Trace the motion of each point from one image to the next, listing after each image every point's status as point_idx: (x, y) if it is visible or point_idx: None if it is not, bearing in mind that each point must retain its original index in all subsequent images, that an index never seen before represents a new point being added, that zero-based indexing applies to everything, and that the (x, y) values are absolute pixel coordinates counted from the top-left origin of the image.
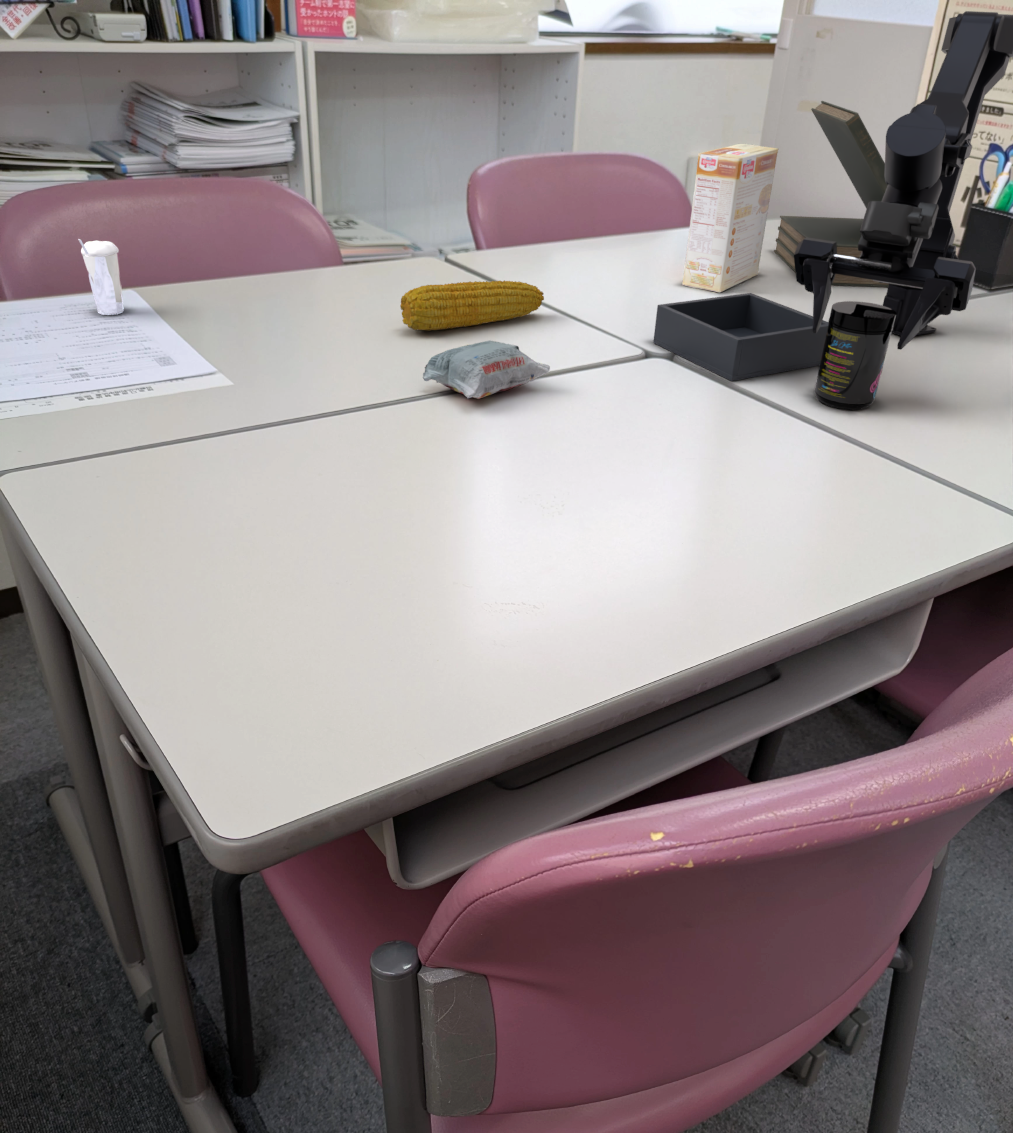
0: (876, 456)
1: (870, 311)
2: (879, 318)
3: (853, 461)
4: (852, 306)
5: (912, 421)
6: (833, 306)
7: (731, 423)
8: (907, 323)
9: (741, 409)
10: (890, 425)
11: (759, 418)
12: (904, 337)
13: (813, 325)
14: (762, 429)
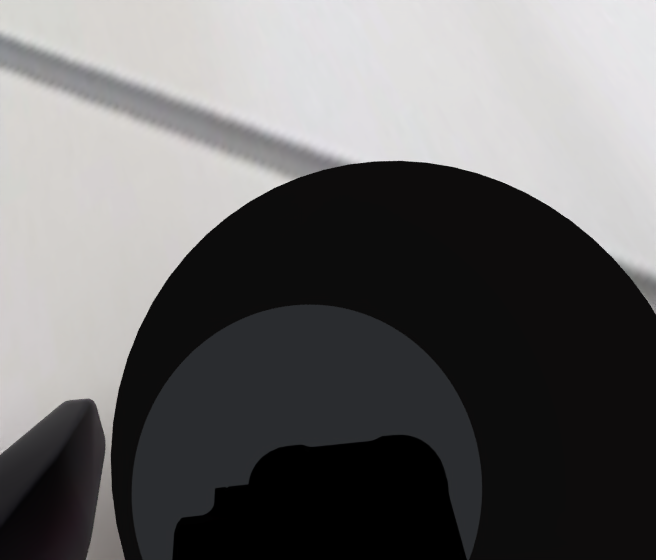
0: (105, 65)
1: (351, 415)
2: (215, 244)
3: (152, 5)
4: (545, 469)
5: None
6: (653, 334)
7: (505, 44)
8: (9, 503)
9: (543, 146)
10: (119, 318)
11: (470, 116)
12: (43, 426)
13: None
14: (425, 54)
